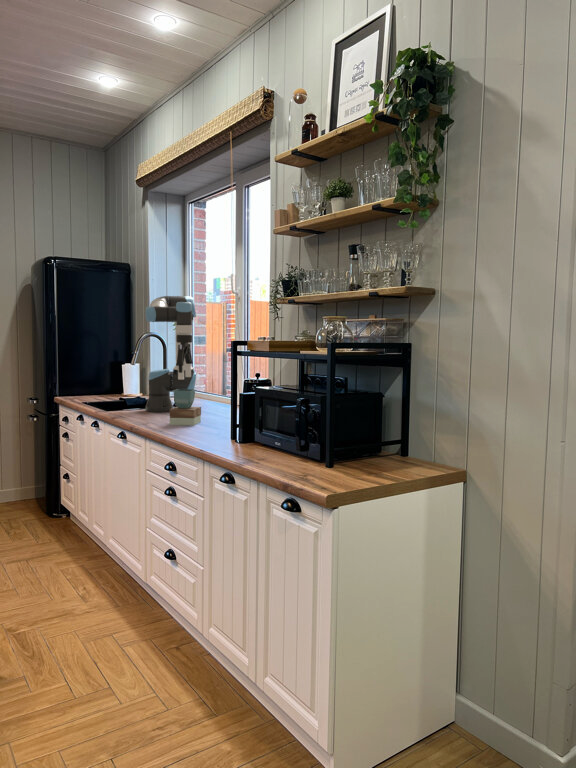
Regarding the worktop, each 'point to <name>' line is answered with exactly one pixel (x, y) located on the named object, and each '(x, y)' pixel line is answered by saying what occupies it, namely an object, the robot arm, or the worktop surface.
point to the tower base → (185, 421)
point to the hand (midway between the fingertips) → (184, 378)
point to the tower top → (185, 412)
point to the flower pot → (184, 397)
